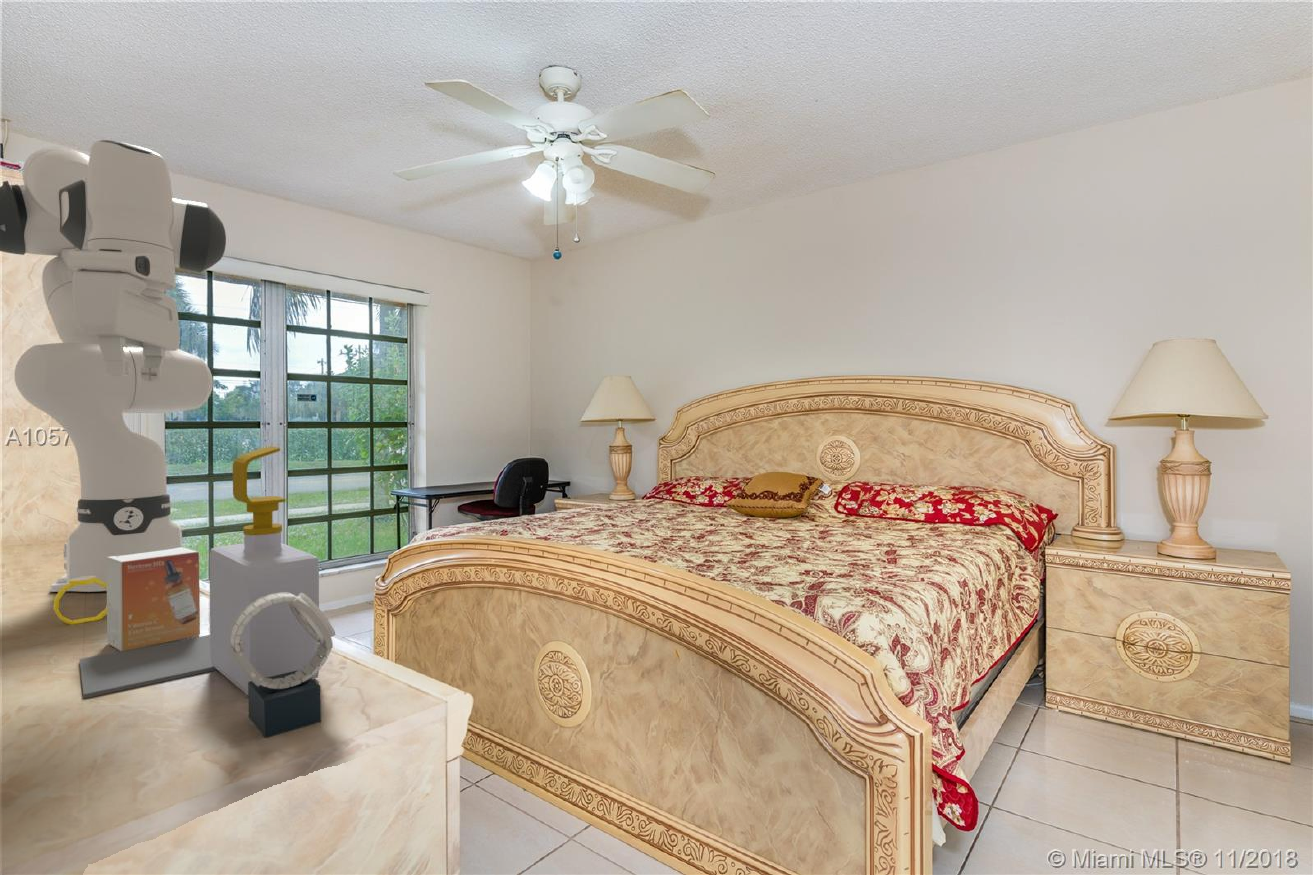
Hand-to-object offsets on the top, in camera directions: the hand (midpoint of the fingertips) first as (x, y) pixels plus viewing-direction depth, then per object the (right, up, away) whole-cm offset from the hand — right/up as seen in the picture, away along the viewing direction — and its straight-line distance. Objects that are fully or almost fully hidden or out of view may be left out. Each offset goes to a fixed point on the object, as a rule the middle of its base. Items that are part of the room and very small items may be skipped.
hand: (135, 378), depth 86 cm
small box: (+7, -32, -5) cm, 33 cm away
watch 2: (+35, -33, -27) cm, 55 cm away
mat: (+14, -32, -13) cm, 37 cm away
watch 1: (-9, -32, +2) cm, 33 cm away
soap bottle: (+26, -32, -17) cm, 45 cm away
